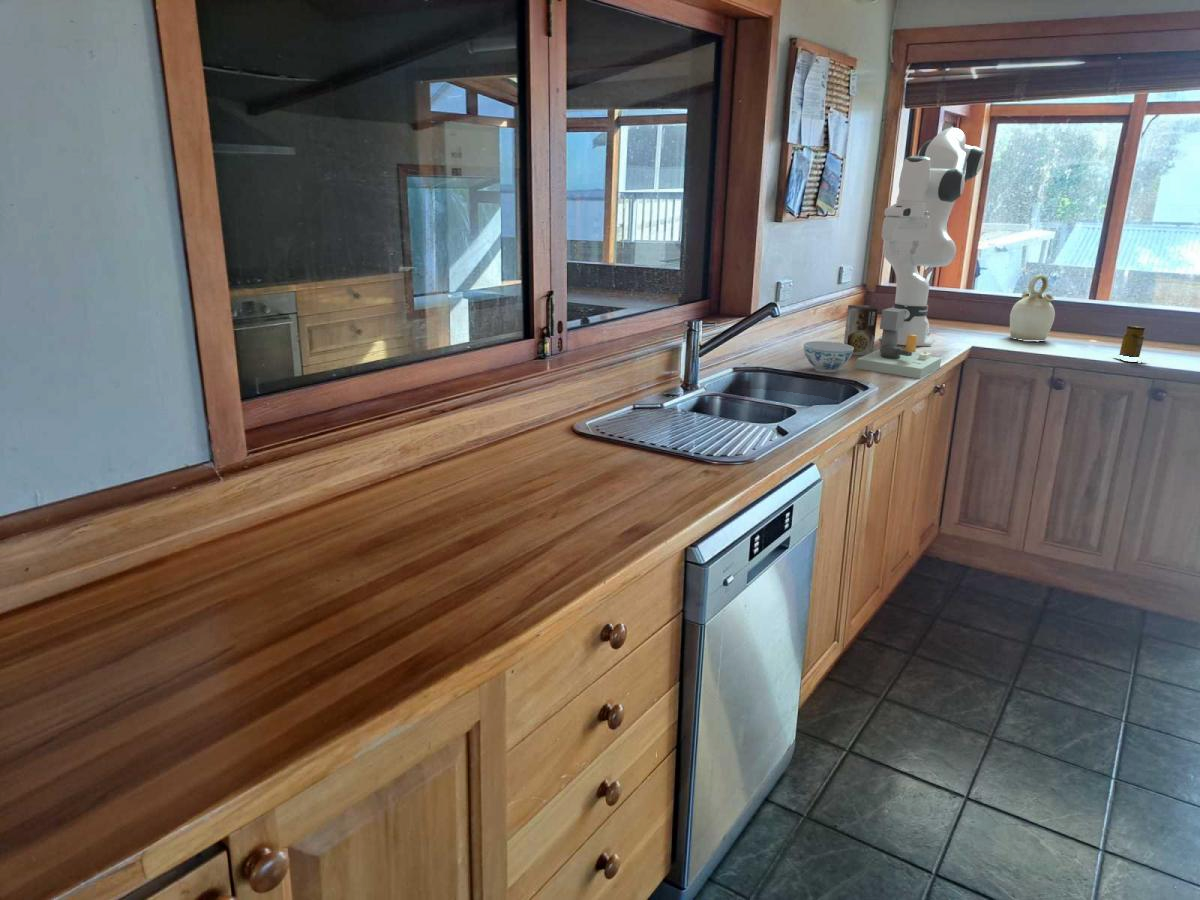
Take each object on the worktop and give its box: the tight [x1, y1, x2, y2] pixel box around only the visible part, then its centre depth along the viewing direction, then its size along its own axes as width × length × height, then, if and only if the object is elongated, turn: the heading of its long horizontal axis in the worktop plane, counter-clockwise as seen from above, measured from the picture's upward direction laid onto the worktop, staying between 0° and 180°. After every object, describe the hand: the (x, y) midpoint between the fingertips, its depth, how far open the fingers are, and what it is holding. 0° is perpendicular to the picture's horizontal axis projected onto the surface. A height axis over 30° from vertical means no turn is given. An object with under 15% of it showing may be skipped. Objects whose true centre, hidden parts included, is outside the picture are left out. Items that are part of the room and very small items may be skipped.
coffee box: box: [843, 304, 879, 356], centre depth 289 cm, size 9×6×16 cm
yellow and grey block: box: [881, 334, 918, 358], centre depth 269 cm, size 12×6×8 cm, turn 34°
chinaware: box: [803, 340, 854, 373], centre depth 263 cm, size 15×15×8 cm
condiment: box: [1118, 324, 1146, 358], centre depth 295 cm, size 7×8×12 cm
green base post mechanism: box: [855, 307, 942, 379], centre depth 269 cm, size 22×20×17 cm
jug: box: [1009, 274, 1056, 341], centre depth 328 cm, size 15×16×25 cm
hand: (903, 255), depth 271 cm, fingers open, 8 cm apart
